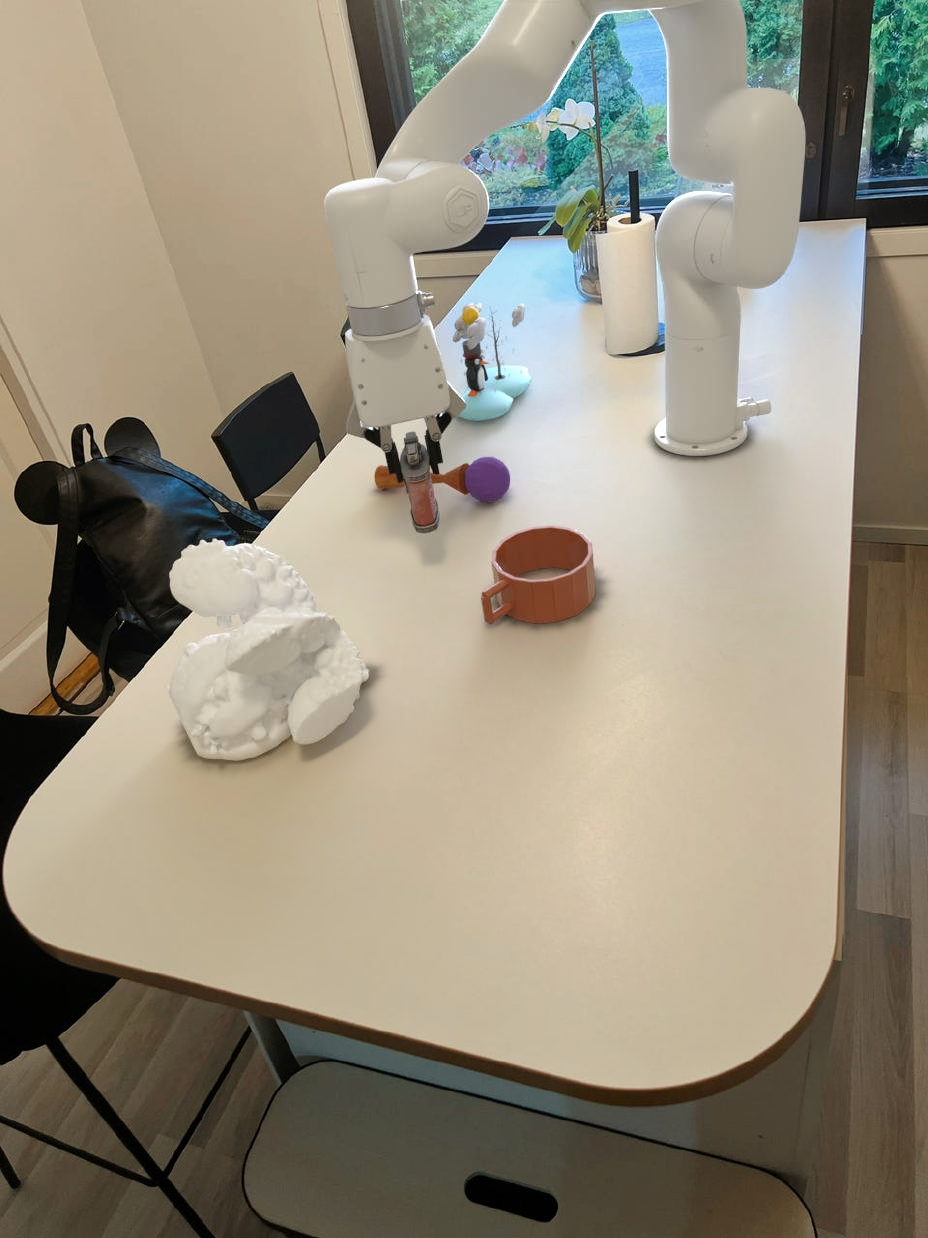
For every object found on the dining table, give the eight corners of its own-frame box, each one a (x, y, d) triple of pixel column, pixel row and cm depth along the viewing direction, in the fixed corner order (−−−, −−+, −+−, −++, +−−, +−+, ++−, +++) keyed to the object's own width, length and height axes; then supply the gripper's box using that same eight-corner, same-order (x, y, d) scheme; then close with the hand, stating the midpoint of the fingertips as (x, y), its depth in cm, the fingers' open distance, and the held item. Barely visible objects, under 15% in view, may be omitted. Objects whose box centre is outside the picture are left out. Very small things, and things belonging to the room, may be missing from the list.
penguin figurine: (500, 427, 134) (487, 330, 125) (438, 424, 139) (421, 330, 130) (543, 375, 148) (534, 284, 139) (486, 374, 153) (474, 286, 144)
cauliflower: (86, 663, 85) (216, 506, 84) (237, 731, 99) (348, 597, 99) (141, 782, 72) (294, 598, 71) (305, 840, 86) (434, 688, 86)
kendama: (388, 450, 125) (514, 451, 115) (395, 490, 127) (519, 494, 118) (365, 462, 120) (495, 464, 111) (373, 504, 123) (500, 509, 113)
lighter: (410, 501, 107) (394, 426, 101) (437, 497, 107) (423, 421, 101) (412, 535, 100) (396, 457, 94) (441, 530, 100) (426, 452, 94)
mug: (546, 555, 104) (541, 515, 101) (615, 587, 97) (613, 546, 94) (455, 613, 98) (447, 572, 95) (522, 652, 91) (516, 610, 87)
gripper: (457, 287, 93) (480, 444, 104) (304, 319, 92) (344, 474, 103) (470, 307, 87) (494, 472, 98) (307, 342, 86) (349, 504, 97)
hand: (416, 472), depth 100 cm, fingers closed on lighter, 3 cm apart
